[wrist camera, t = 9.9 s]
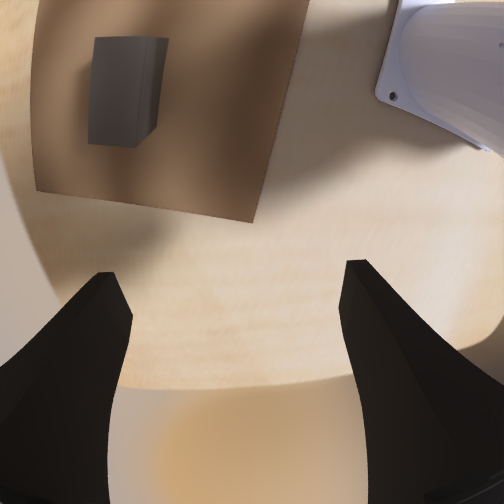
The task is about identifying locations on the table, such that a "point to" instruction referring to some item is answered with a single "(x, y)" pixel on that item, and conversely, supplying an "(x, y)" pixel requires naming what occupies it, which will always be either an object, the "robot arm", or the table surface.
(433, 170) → the table surface
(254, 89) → the lid
